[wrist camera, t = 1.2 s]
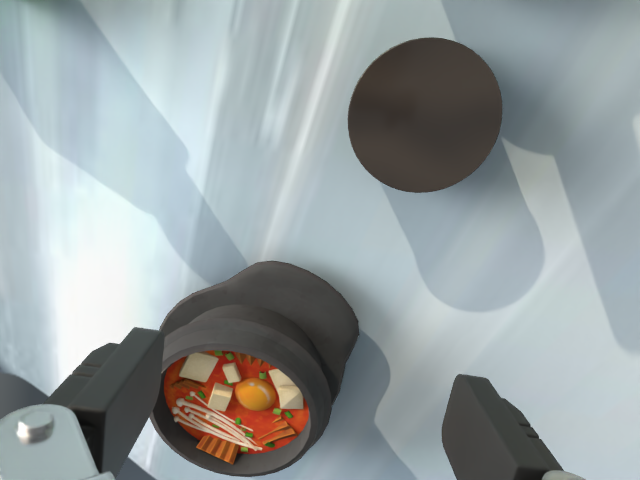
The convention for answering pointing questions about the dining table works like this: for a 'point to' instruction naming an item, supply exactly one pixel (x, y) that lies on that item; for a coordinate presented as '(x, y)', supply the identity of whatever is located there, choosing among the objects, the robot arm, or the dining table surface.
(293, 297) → the casserole
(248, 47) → the dining table surface
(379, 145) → the stand
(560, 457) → the dining table surface
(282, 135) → the dining table surface
